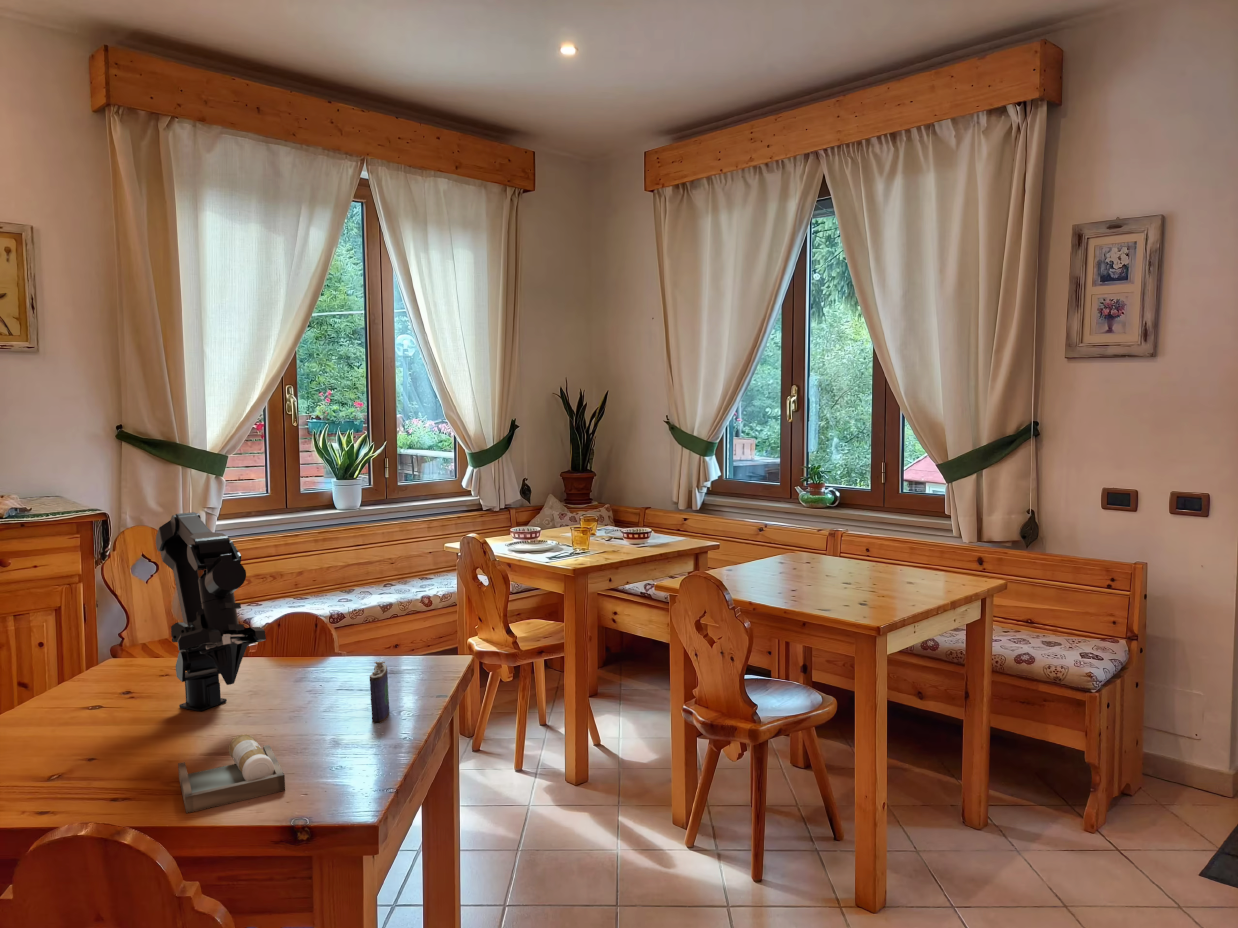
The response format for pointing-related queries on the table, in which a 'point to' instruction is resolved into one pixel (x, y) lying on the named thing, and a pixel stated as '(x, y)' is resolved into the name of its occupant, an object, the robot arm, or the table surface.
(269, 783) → the tray
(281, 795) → the table surface
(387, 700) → the flask
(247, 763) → the sprinkles bottle
